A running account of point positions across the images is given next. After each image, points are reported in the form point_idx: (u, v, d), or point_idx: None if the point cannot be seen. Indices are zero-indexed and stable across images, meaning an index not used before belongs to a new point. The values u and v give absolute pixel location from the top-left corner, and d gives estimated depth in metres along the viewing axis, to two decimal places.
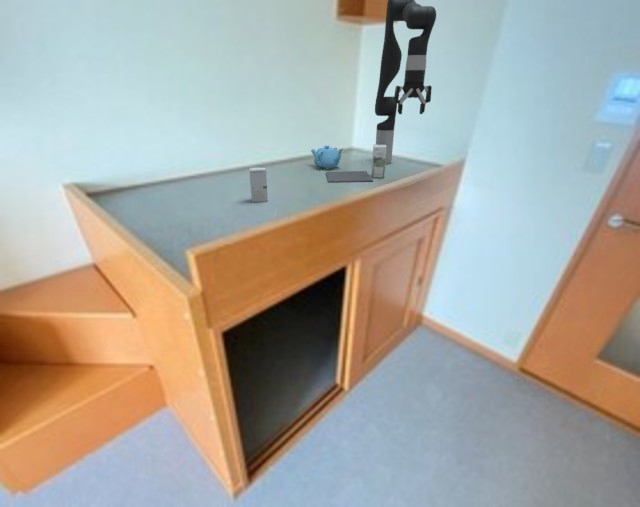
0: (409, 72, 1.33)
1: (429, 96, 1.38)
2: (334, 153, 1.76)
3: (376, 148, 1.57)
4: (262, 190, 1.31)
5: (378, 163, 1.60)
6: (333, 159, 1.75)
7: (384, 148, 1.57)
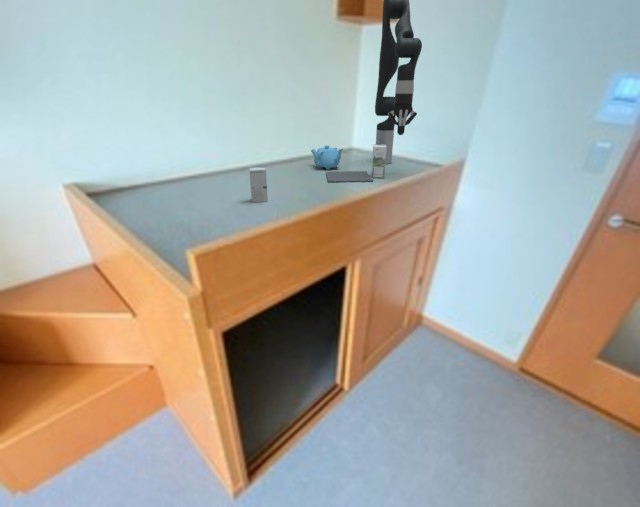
0: (398, 95, 1.48)
1: (410, 120, 1.54)
2: (334, 153, 1.76)
3: (376, 148, 1.57)
4: (262, 190, 1.31)
5: (378, 163, 1.60)
6: (333, 159, 1.75)
7: (384, 148, 1.57)
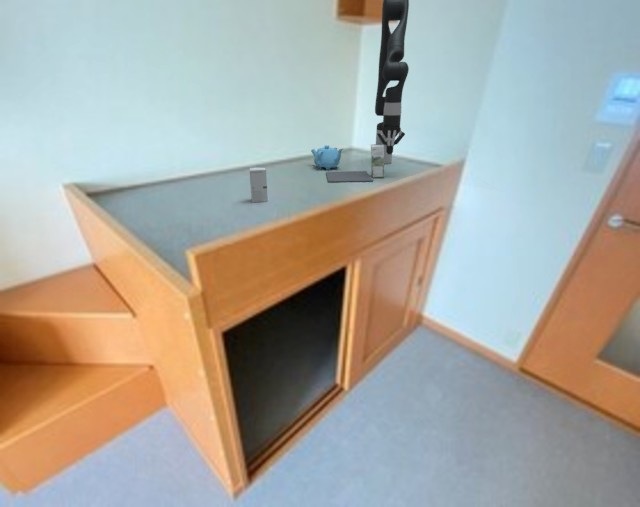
0: (386, 117, 1.52)
1: (398, 140, 1.57)
2: (334, 153, 1.76)
3: (373, 148, 1.57)
4: (262, 190, 1.31)
5: (377, 163, 1.60)
6: (333, 159, 1.75)
7: (381, 147, 1.57)
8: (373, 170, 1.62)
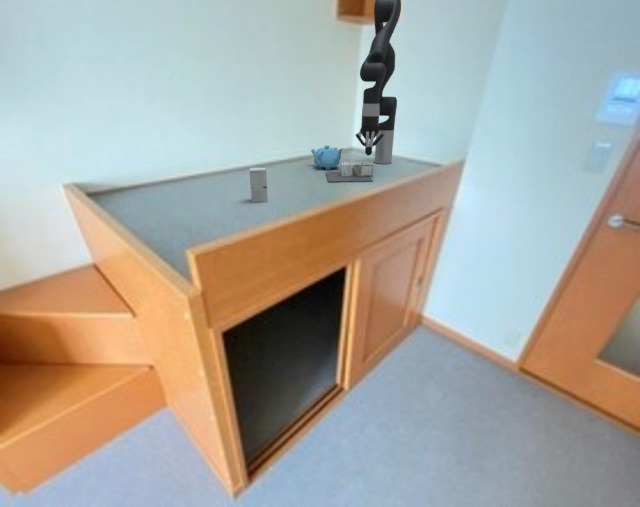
0: (364, 118, 1.51)
1: (377, 141, 1.57)
2: (334, 153, 1.76)
3: (343, 174, 1.63)
4: (262, 190, 1.31)
5: (358, 170, 1.62)
6: (333, 159, 1.75)
7: (343, 166, 1.61)
8: (365, 174, 1.63)
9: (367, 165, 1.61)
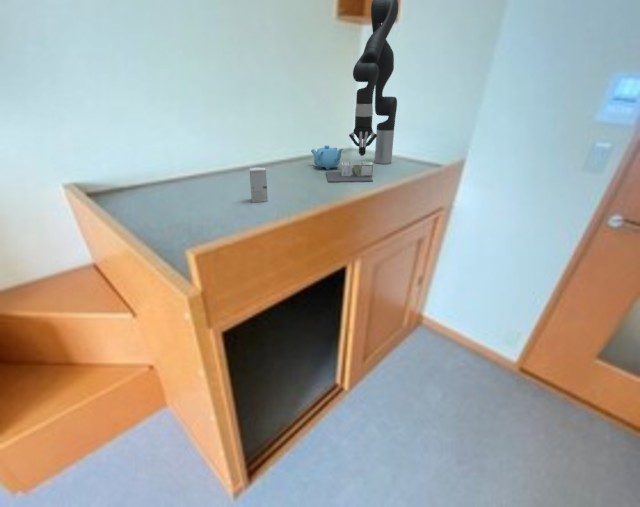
0: (358, 118, 1.51)
1: (370, 141, 1.57)
2: (334, 153, 1.76)
3: (343, 174, 1.63)
4: (262, 190, 1.31)
5: (358, 170, 1.62)
6: (333, 159, 1.75)
7: (343, 166, 1.61)
8: (365, 174, 1.63)
9: (367, 165, 1.61)
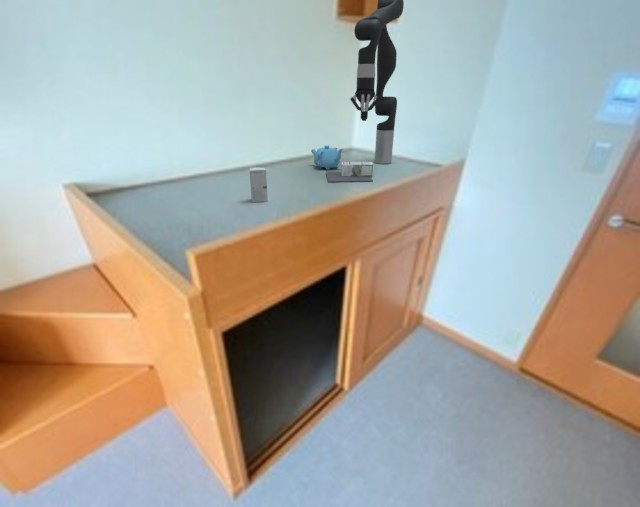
0: (359, 79, 1.45)
1: (373, 105, 1.50)
2: (334, 153, 1.76)
3: (343, 174, 1.63)
4: (262, 190, 1.31)
5: (358, 170, 1.62)
6: (333, 159, 1.75)
7: (343, 166, 1.61)
8: (365, 174, 1.63)
9: (367, 165, 1.61)
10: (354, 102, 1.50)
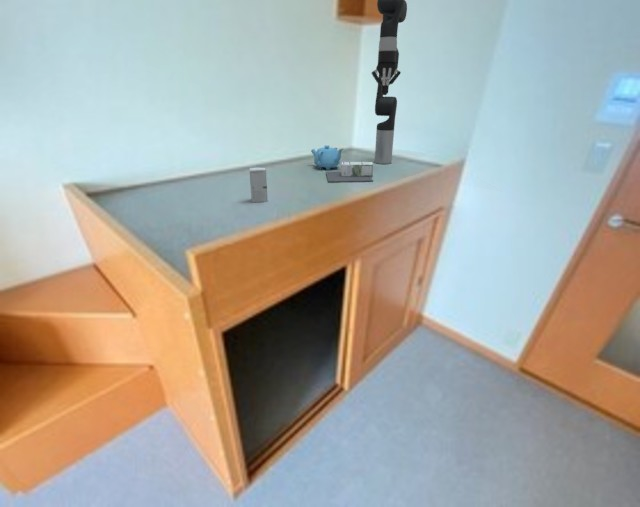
0: (381, 53, 1.47)
1: (394, 79, 1.52)
2: (334, 153, 1.76)
3: (343, 174, 1.63)
4: (262, 190, 1.31)
5: (358, 170, 1.62)
6: (333, 159, 1.75)
7: (343, 166, 1.61)
8: (365, 174, 1.63)
9: (367, 165, 1.61)
10: (375, 76, 1.52)
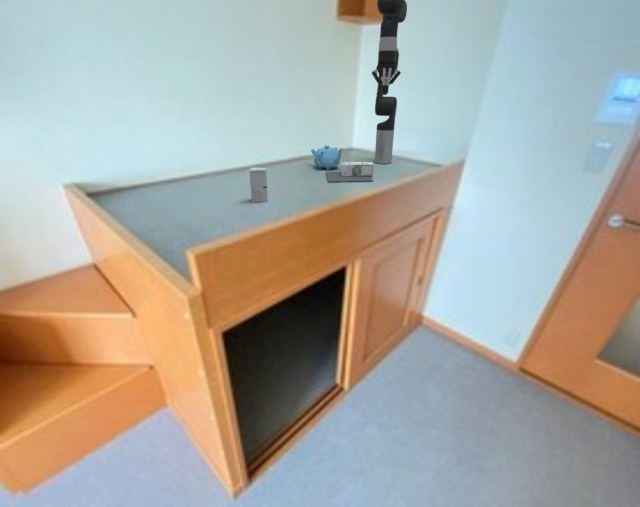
0: (381, 52, 1.47)
1: (394, 79, 1.52)
2: (334, 153, 1.76)
3: (343, 174, 1.63)
4: (262, 190, 1.31)
5: (358, 170, 1.62)
6: (333, 159, 1.75)
7: (343, 166, 1.61)
8: (365, 174, 1.63)
9: (367, 165, 1.61)
10: (375, 76, 1.52)
